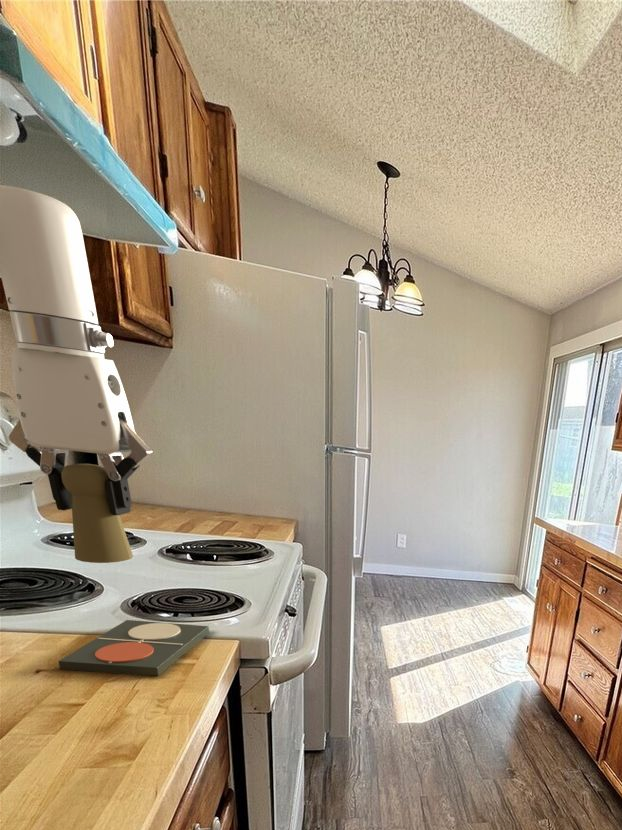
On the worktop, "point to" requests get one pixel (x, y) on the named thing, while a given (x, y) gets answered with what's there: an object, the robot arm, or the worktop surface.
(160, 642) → the board
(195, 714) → the worktop surface
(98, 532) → the cork
